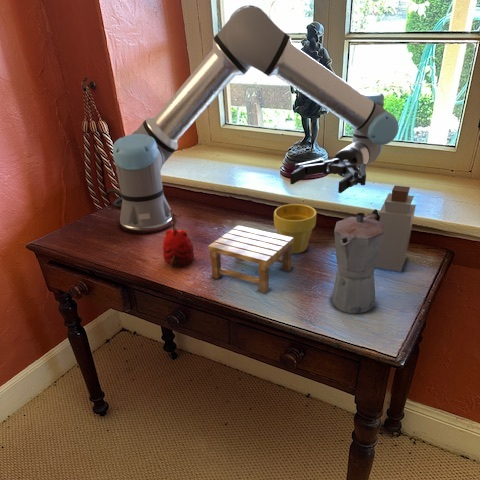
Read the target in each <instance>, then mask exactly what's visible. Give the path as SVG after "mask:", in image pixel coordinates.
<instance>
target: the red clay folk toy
mask: <svg viewBox="0 0 480 480" xmlns="http://www.w3.org/2000/svg"><path fill="white" fill-rule="evenodd" d="M170 209H171V208H170ZM170 212H171V217H172V224H171V226H172V229H171V228H169V229H167V230H166V231H165V236H164V238H163V244H162V256H163V260H164V262H165V263H166V265H168V266H170V267H172V268H175V269H176V268H184V267H186V266H189V265H190V264H192V262H193V261H194V258H195V252H194V249H195V248H194V244H193V241H192V239H191V238H190V236H189V235H188V232H187V231H186V230H185V229H176V225H175V217H176V218H178V219H182V214H175V213H174V211H173V209H171V210H170Z"/></svg>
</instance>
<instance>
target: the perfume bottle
mask: <svg viewBox="0 0 480 480" xmlns="http://www.w3.org/2000/svg"><path fill="white" fill-rule="evenodd" d="M410 189H411V186H406V185H405V186H404V185H394V186H393V187H392V190H391V192H389V193H388V194H387V196H386V198H385V199H384V203H383V204H382V207H381V208H380V210H379V211H378V214H379V215H380V220H379V222H381V223H383V224H384V235H383V239H382V243H381V247H380V251H379V255H378V258H377V262H376V266H375V268H376V269H381V270H382V269H383V270H387V271H393V272H400V273H401V272H402V270H403V268H404V265H405V262H406V259H407V254H408V249H409V243H410V238H411V232H412V227H413V224H414V223H413V222H414V218H415V212H416V207H417V205H416V204H412V202H413V200H414V197H415V196H414V195H409V193H410Z"/></svg>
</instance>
